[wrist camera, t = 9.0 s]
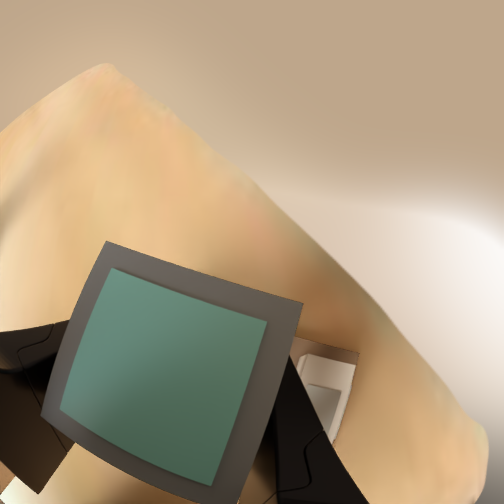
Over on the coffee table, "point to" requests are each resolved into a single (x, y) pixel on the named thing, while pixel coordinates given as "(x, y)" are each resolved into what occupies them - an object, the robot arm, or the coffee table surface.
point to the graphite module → (170, 373)
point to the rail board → (325, 379)
